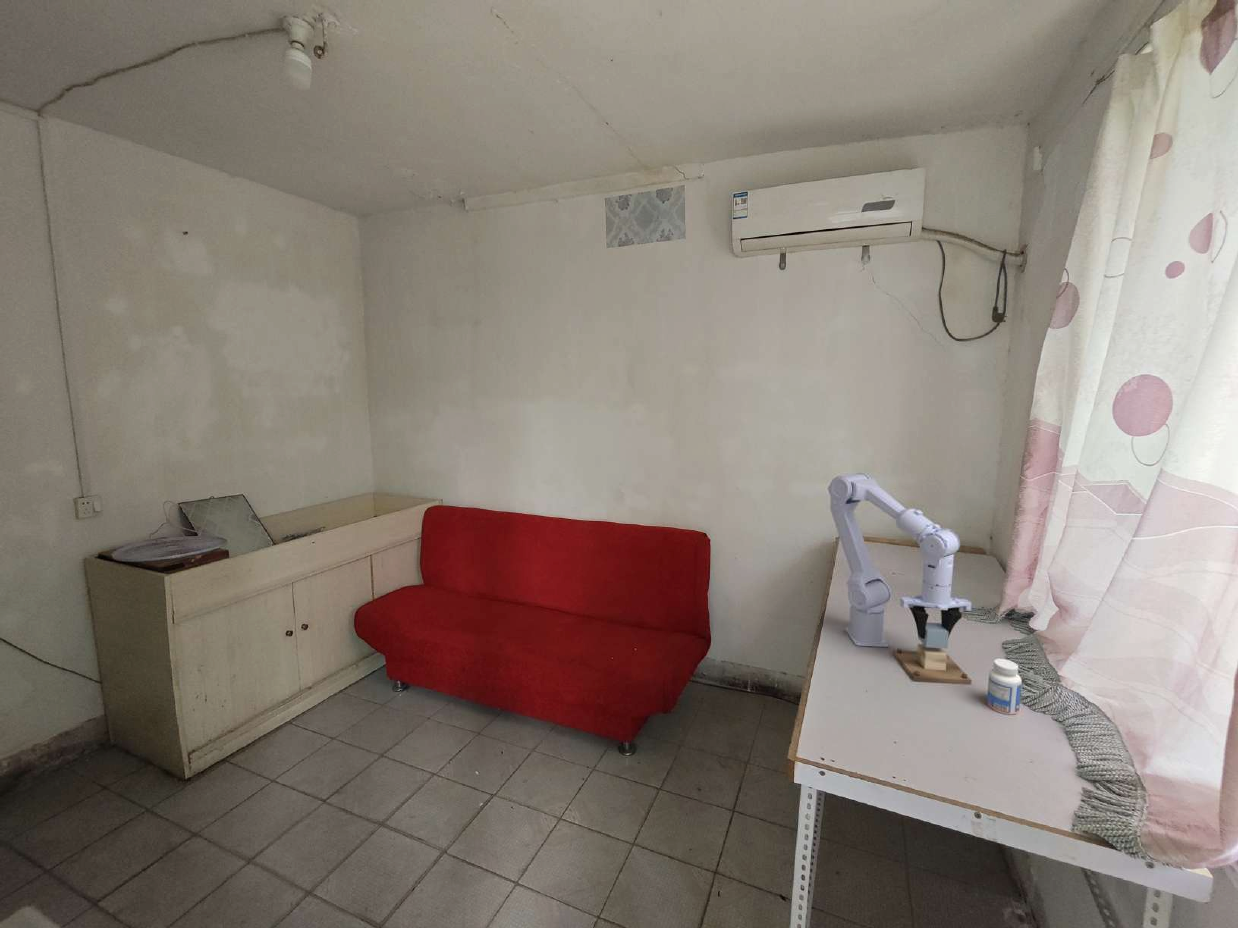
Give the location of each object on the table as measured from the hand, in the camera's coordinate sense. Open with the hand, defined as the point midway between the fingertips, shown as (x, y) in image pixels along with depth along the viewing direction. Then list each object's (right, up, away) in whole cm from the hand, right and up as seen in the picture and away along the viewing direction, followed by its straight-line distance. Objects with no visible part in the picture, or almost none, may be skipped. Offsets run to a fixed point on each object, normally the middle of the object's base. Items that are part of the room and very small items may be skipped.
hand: (932, 637), depth 120 cm
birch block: (0, -7, +1) cm, 7 cm away
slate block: (0, -1, 0) cm, 2 cm away
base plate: (0, -8, +1) cm, 8 cm away
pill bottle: (+6, -10, -14) cm, 18 cm away
